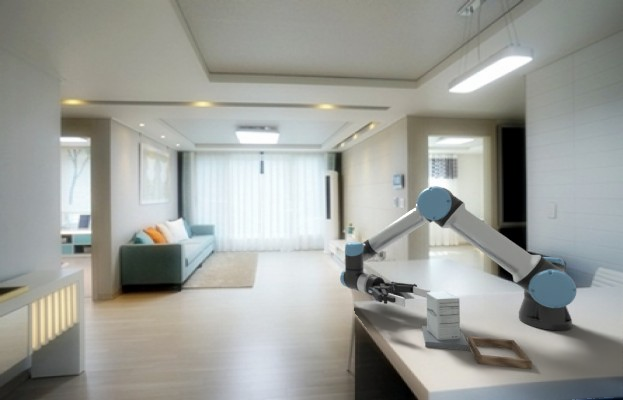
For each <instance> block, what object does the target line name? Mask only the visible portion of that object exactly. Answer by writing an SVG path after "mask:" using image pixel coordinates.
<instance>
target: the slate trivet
mask: <svg viewBox="0 0 623 400" xmlns="http://www.w3.org/2000/svg"><path fill="white" fill-rule="evenodd" d="M421 331H422V337H423V342H424V347H427V348H438V349H448V350H449V349H450V350H460V351H461V350H462V351H470V346H469V344H468V340H467V339H466V337H465V334H464V332H463V331H462V329H461V328H460V339H449V340H438V339H437V338H436V337H435V336H433V335H432V334H431V333H430V332H429V331H428V330H427V325H421Z"/></svg>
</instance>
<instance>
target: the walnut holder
mask: <svg viewBox="0 0 623 400" xmlns="http://www.w3.org/2000/svg"><path fill="white" fill-rule="evenodd" d="M467 343H468V345H469V349H470V350H471V352H472V354H473V356H474V358H475V360H476V362H477V364H480V365H489V366H499V367H509V368H516V369H517V368H519V369H529V370H531V369H532V360H531V359H530V358H529V356H528V355H527V354H526V353H525V352H524V350H523V349H522V348H521V347H520V346H519V344H518V343H517V342H516V341H515V340H514V339H504V338H492V337H481V336H467ZM478 346H483V347H495V348H497V347H498V348H508V349H512V351H513V352H514V354H515V355H516V356H517V357H509V356H500V355H499V356H497V355H491V354H490V355H489V354H481V352H480V350H479V348H478Z"/></svg>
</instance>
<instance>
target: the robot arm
mask: <svg viewBox="0 0 623 400" xmlns="http://www.w3.org/2000/svg"><path fill="white" fill-rule="evenodd" d="M433 222H434V223H435V224H437V225H438V226H439V227H440V228H442V229H450V230H451V231H453V232H454V233H456V235H458V236H459V237H461V239H464V240H465V241H466V242H468V243H469V244H470V245H472V246H473V247H474V248H476V249H477V250H478V251H479V252H481V253H482V254H484V256H487V257H488V258H489V259H491V260H492V261H493V262H494V263H496V264H498V265H499V266H500V267H501V268H503V269H504V270H505V271H507V272H508V273H510V274H511V275H512V278H513V279H512V280H513V282H514V283H515V284H517V285H518V286H519V287H520V288H521V289H523V295H524V296H523V299H522V302H521V305H520V307H519V311H518V320H520V321H521V322H522V323H524V324H527V325H528V326H530V327H531V326H532V327H535V328H538V329H543V330H549V331H559V332H561V331H562V332H563V331H569V330H571V329H573V319H572V317H571V314H570V312H569V309H568V307H567V306H568V305H570V304H572V302H573V301H574V300H575V299H576V296H577V286H576V282H575V280H574V279H573V278H572V276H570V275H569V274H568V273H567V272H566V271H565V268H566V265H565V260H564V259H563V258H560V257H553V256H552V257H550V256H549V257H548V256H542V255H540V254H530V253H528V251H526V250H525V249H524V248H522V247H521V246H519V245H518V244H516V243H515V242H513V241H512V240H510V239H509V238H508V237H506V236H505V235H503V234H502V233H500V231H498V230H496V229H495V228H493V227H492V226H490V225H489V224H488V223H487V222H485V221H484V220H482V219H481V218H480V217H477V215H475V214H473V213H472V212H471V211H469V210H468V209H466V203H465V202H464V201H462V200H461V199H459V198H458V197H457V196H455V195H454V194H453V193H452V192H451V191H450V190H449V189H447V188H445V187H442V186H435V185H433V186H429V187H426V188H425V189H423V190H422V191H421V192H420V193H419V195H418V196H417V199H416V204H415V207H414V208H413V209H411V210H409V211H407V212H406V213H404V215H402V216H400V217H399V218H397V219H396V220H394V221H393V222H391V223H390V224H388V225H386V226H385V227H384V228H383V229H381V230H379V232H377V233H376V234H373V235H372V236H371V237H370V238H368V239H366V240H365V241H363V242H360V241H349V242H346V243H345V246H344V260H345V261H344V263H345V265H344V266H345V268H344V270H342V271H341V273H340V277H339V278H340V279H339V280H340V283H341V285H342V286H344V287H346V288H348V289H351V290H354V291H357V292H361V293H364V294H365V295H369V296H372V297H373V299H375V300H376V301H377V302H378V303H383V304H385V305H387V304H388V303H390V304H391V303H392V304H395V305H397V306H400V307H406V298H405V297H403V296H399V295H396V294H397V293H403V294H404V293H405V294H413V295H415V296H419V297H422V298H426V299H427V292H431V290H429V289H427V288H422V287H419V286H418V284H416V283H404V282H403V283H402V282H395V281H391V283H390V282H386V281H385V280H384V279H383V278H382V277H380V276H378V275H373V274H369V273H364V262H366V261H368V260H371V259H372V258H374V257H375V256H376V255H378V254H379V253H380V252H382V251H384V250H385V249H387V248H388V247H390V246H392V245H393V244H395V243H396V242H398V241H399V240H401V239H403V238H404V237H406V236H408V235H409V234H410V233H412V232H414V231H416V230H417V229H418V228H420V227H422V226H423V225H424V224H426V223H429V224H430V223H433Z"/></svg>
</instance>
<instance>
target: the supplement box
mask: <svg viewBox="0 0 623 400" xmlns="http://www.w3.org/2000/svg"><path fill="white" fill-rule="evenodd" d="M460 304H461V303H460V297H458V296H456V295H454V294H452V293H450V292H449V291H446V290H444V291H442V290H441V291H430V292H427V298H426V326H427V330H428V331H429V332H430V333H431V334H432V335H433V336H435V337H436V338H437V339H438V340H449V339H460V329H461V326H460V325H461V317H460V315H461V313H460V310H461V309H460Z"/></svg>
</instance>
